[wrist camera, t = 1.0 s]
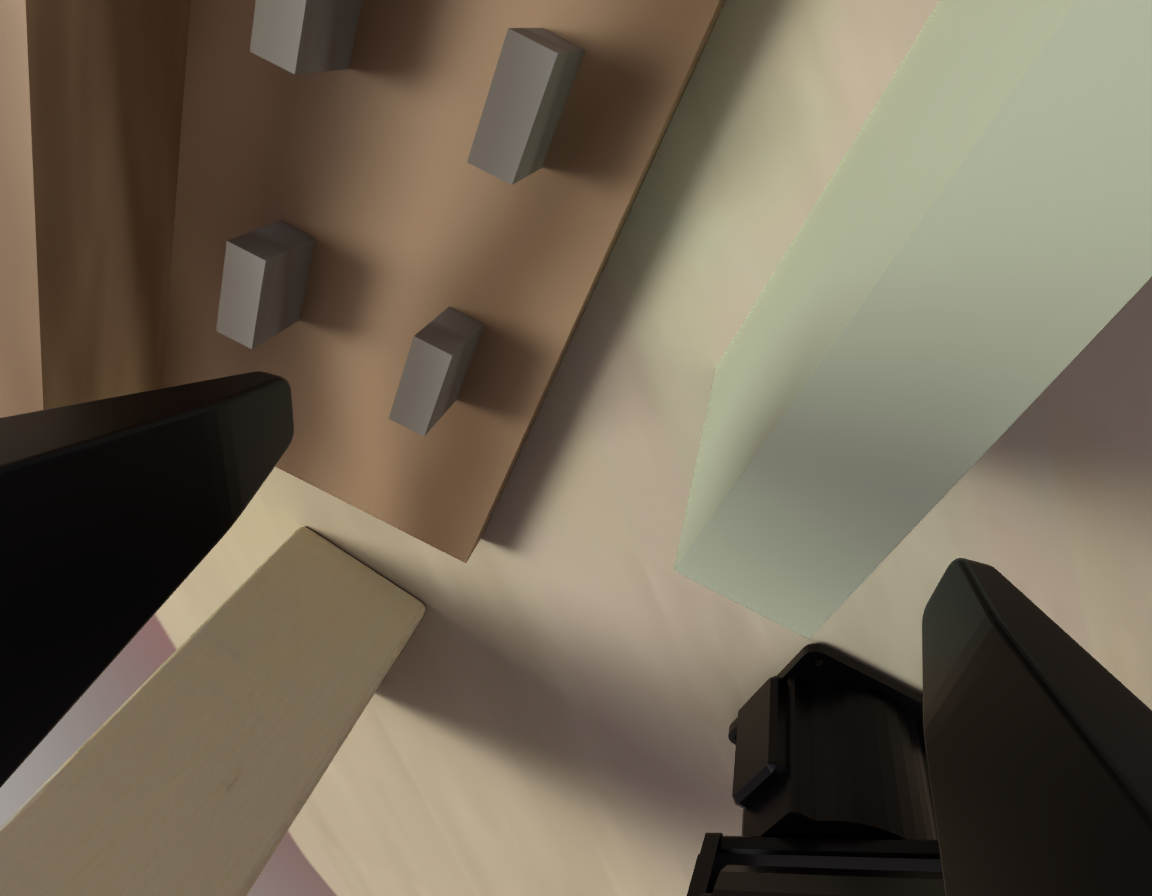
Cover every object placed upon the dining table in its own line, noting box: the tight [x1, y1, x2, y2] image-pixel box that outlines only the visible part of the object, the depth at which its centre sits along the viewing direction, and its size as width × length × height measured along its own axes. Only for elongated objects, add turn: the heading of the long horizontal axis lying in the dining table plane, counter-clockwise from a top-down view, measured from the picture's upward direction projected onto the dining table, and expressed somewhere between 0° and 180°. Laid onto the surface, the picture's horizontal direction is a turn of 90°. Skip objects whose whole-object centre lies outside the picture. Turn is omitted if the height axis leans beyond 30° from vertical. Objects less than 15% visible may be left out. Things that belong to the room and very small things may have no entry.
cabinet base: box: [0, 0, 725, 563], centre depth 19 cm, size 16×24×6 cm, turn 157°
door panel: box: [674, 0, 1152, 639], centre depth 14 cm, size 3×14×10 cm, turn 157°
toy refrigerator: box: [0, 527, 425, 896], centre depth 24 cm, size 8×7×21 cm
